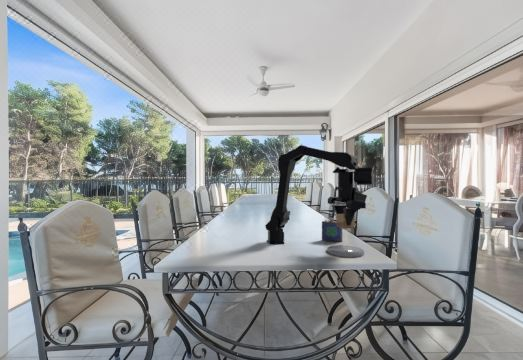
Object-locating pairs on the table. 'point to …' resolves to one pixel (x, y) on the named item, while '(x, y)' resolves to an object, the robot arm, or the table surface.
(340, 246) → the slate plate
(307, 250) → the table surface
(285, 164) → the robot arm
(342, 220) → the walnut cube
